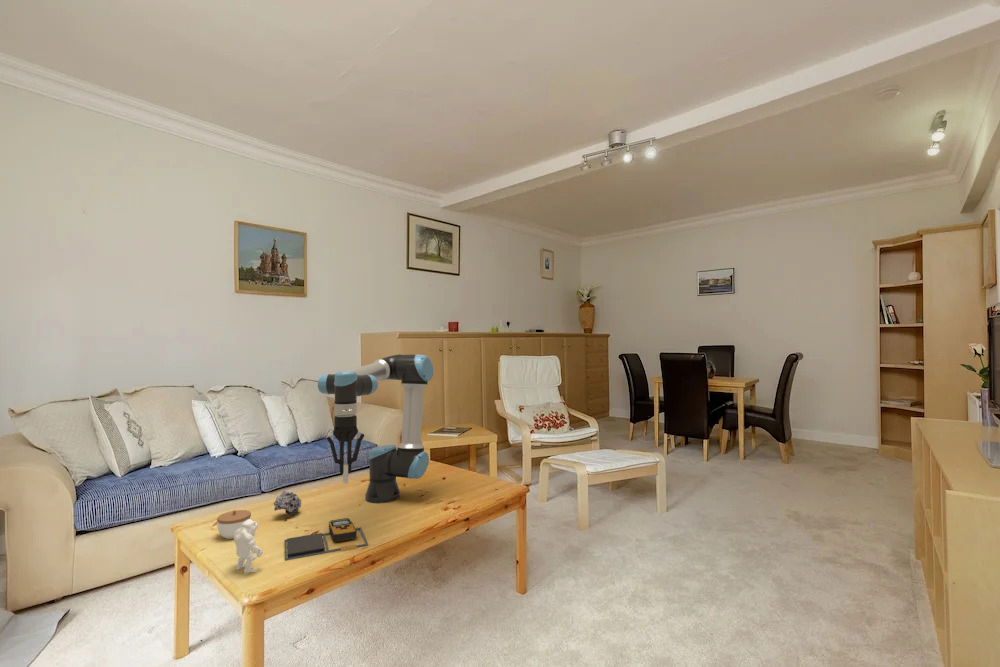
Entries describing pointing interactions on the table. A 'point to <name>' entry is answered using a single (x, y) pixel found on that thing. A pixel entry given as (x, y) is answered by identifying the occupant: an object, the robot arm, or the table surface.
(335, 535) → the electronic device
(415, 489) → the table surface
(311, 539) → the grey flat frame
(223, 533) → the lidded jar
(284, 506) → the mineral specimen
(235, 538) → the figurine
